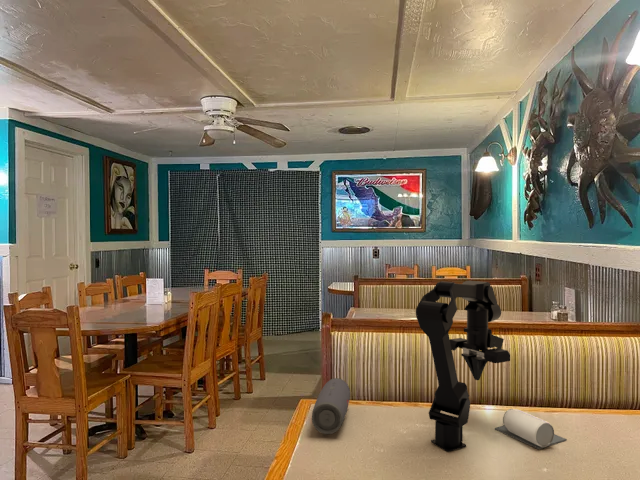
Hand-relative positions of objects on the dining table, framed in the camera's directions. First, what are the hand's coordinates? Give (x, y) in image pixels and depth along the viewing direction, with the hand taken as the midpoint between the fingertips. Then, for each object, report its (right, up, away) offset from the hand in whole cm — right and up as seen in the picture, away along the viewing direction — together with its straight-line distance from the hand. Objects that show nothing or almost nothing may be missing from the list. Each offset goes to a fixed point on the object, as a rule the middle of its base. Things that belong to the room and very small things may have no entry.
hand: (477, 379), depth 135 cm
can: (+12, -10, -15) cm, 22 cm away
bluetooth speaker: (-41, -13, +2) cm, 43 cm away
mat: (+12, -13, -6) cm, 19 cm away
